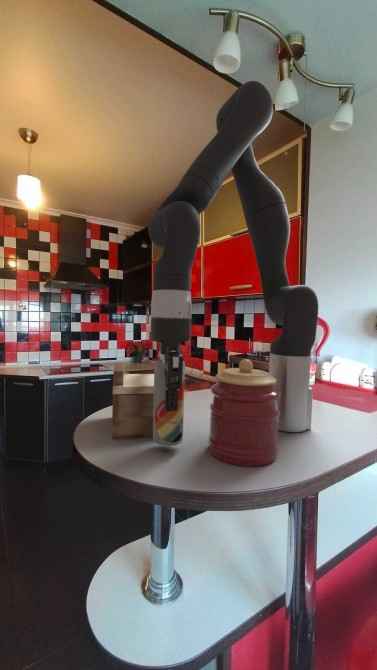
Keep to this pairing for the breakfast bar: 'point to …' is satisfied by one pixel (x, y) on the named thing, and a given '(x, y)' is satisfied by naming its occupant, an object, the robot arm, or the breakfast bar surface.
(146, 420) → the wooden box
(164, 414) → the lotion bottle
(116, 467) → the breakfast bar surface
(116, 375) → the lid
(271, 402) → the canister
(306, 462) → the breakfast bar surface
